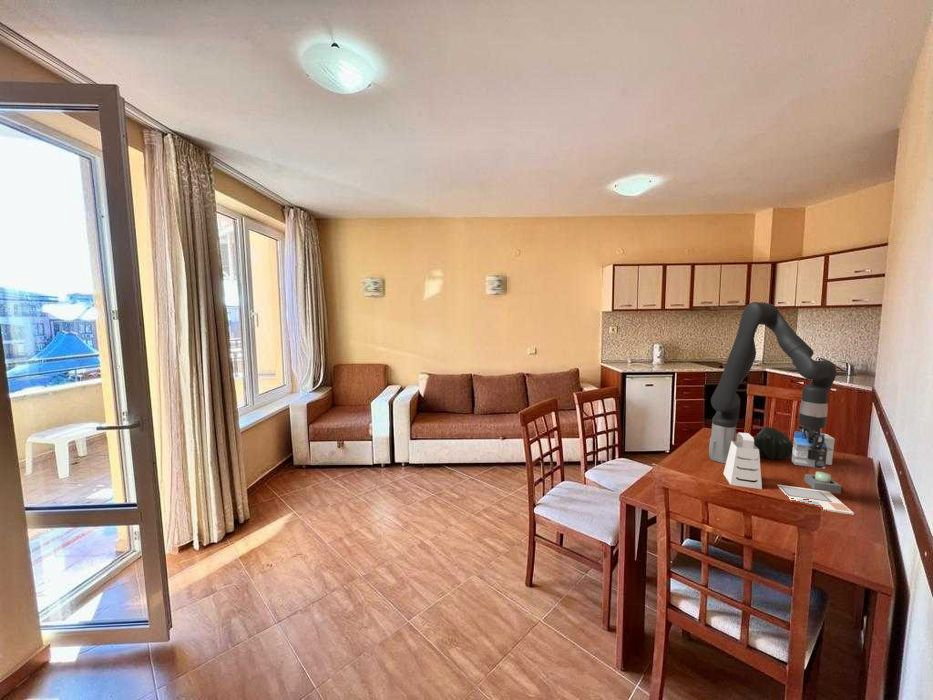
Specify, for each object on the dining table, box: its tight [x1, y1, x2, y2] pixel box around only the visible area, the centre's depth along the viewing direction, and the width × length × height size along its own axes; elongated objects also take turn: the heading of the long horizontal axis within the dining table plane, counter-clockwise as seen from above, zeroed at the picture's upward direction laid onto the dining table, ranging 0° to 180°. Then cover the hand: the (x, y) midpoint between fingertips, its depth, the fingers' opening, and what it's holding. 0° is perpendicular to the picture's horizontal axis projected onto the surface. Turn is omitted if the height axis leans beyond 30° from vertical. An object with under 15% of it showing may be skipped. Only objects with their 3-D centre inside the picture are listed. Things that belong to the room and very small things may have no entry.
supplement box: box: [820, 432, 836, 466], centre depth 168 cm, size 7×7×13 cm
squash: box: [753, 426, 793, 460], centre depth 174 cm, size 14×15×15 cm
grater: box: [723, 432, 763, 490], centre depth 150 cm, size 10×10×20 cm
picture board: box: [777, 484, 855, 516], centre depth 136 cm, size 16×16×1 cm
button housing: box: [803, 473, 842, 494], centre depth 145 cm, size 8×8×3 cm
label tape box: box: [791, 431, 827, 469], centre depth 137 cm, size 9×4×12 cm, turn 62°
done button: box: [814, 470, 832, 483], centre depth 145 cm, size 4×4×4 cm
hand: (808, 456), depth 138 cm, fingers closed on label tape box, 4 cm apart
